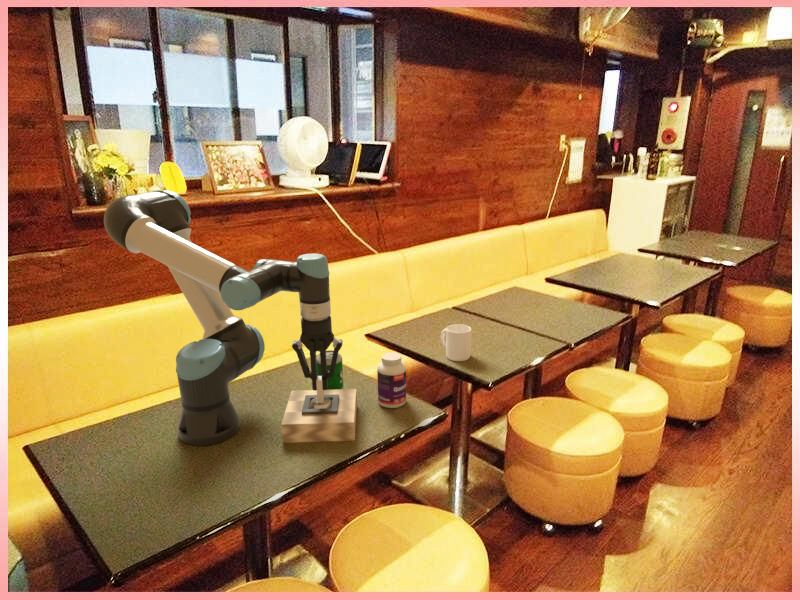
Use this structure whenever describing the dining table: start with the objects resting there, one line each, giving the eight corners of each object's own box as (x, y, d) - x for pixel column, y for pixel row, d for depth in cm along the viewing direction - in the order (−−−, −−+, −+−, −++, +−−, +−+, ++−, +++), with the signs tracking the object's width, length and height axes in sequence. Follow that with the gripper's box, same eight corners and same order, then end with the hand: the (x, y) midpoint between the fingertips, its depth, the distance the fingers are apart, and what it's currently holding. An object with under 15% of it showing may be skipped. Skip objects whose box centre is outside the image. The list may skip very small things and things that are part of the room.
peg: (311, 425, 147) (310, 406, 145) (313, 415, 151) (312, 396, 150) (330, 425, 147) (329, 405, 145) (332, 415, 152) (331, 396, 150)
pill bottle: (396, 412, 154) (395, 364, 150) (372, 405, 158) (371, 358, 154) (411, 400, 161) (411, 354, 156) (388, 393, 165) (387, 348, 160)
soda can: (339, 398, 162) (337, 360, 158) (314, 396, 164) (312, 358, 160) (346, 386, 169) (345, 350, 165) (322, 384, 171) (320, 348, 167)
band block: (282, 442, 140) (281, 421, 139) (292, 407, 158) (291, 388, 156) (354, 440, 141) (353, 419, 139) (356, 405, 158) (356, 386, 156)
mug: (432, 353, 192) (433, 325, 189) (448, 347, 198) (449, 319, 194) (459, 364, 184) (460, 335, 181) (475, 356, 189) (476, 328, 186)
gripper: (287, 322, 136) (294, 408, 143) (341, 320, 136) (345, 406, 144) (291, 311, 143) (297, 394, 150) (342, 310, 144) (346, 393, 151)
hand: (320, 400), depth 147 cm, fingers closed
